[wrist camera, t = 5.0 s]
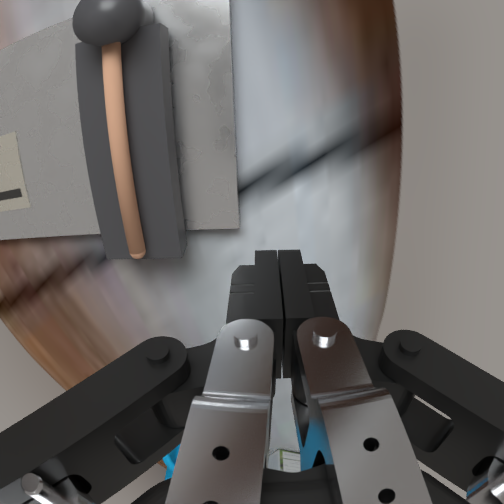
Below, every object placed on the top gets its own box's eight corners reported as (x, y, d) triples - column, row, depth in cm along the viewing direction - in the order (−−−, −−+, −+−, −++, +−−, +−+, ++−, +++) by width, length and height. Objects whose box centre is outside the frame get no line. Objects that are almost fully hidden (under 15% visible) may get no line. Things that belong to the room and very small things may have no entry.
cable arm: (88, 10, 15) (59, 0, 12) (167, -10, 15) (149, -27, 12) (116, 246, 24) (96, 273, 21) (187, 244, 24) (175, 272, 21)
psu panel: (-14, 237, 26) (-20, 242, 25) (-42, 78, 17) (-50, 80, 16) (239, 223, 25) (239, 229, 24) (229, -11, 16) (228, -16, 15)
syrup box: (260, 460, 45) (260, 536, 32) (279, 447, 43) (282, 530, 30) (289, 465, 46) (293, 537, 34) (309, 452, 44) (316, 530, 31)
